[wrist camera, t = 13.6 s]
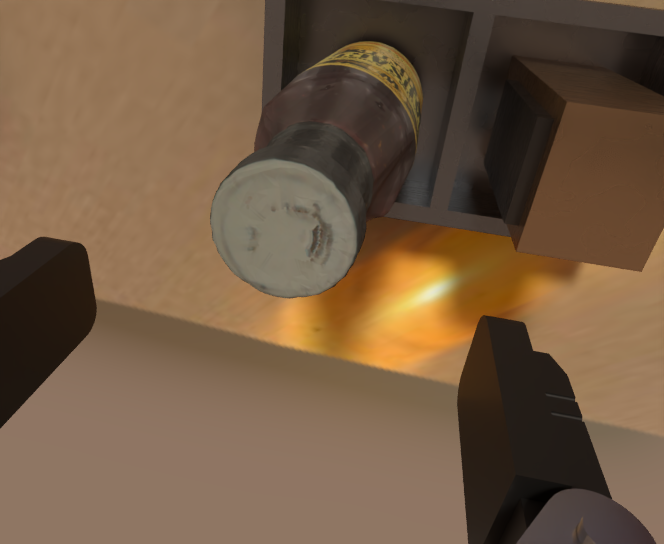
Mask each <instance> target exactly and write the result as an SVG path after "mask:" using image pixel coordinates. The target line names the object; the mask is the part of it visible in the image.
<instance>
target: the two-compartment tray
mask: <svg viewBox="0 0 664 544" xmlns="http://www.w3.org/2000/svg"><path fill="white" fill-rule="evenodd" d="M363 41H373V42H380V43H383V44H386V45H389V46H391V47H393V48H395V49H396V50H397V51H399V52H400V53H401V54H403V55H404V56H405V57H406V58H407V59H408V61H409V62H410V63H411V64H412V66H413V67H414V69H415V71H416V73H417V75H418V77H419V80H420V83H421V87H422V93H423V104H422V112H421V121H420V128H419V137H418V144H417V150H416V155H415V159H414V163H413V166H412V168H411V170H410V172H409V174H408V176H407V178H406V180H405V182H404V184H403V186H402V188H401V190H400V192H399V194H398V196H397V198H396V200H395V202H394V204H393V206H392V208H391V209H390V211H389V212H388V213H387V214H386V215H385V216H383V217H389V218H396V219H402V220H408V221H415V222H421V223H427V224H433V225H440V226H446V227H452V228H458V229H465V230H471V231H477V232H483V233H490V234H496V235H502V236H508V237H511V238H512V241H513V244H514V247H515V250H516V252H522V253H528V254H534V255H540V256H547V257H553V258H559V259H565V260H571V261H578V262H584V263H590V264H596V265H602V266H609V267H615V268H621V269H627V270H633V271H639V272H642V270H643V268H644V266H645V264H646V262H647V260H648V258H649V256H650V254H651V252H652V250H653V248H654V246H655V244H656V242H657V240H658V238H659V236H660V234H661V232H662V230H663V228H664V10H661V9H653V8H644V7H636V6H628V5H620V4H612V3H604V2H596V1H588V0H265V26H264V58H263V90H262V111H263V108H264V106H265V105H266V104H267V103H268V102H269V101H271V100H272V99H273V98H274V97H275V96H276V95H277V94H278V93H279V92H280V91H281V90H282V89H284V88H285V87H286V86H287V85H288V84H289V83H290V82H291V81H292V80H293V79H294V78H295V77H296V76H298V75H299V74H301V73H302V72H304V71H305V70H307V69H309V68H311V67H312V66H314V65H315V64H317V63H319V62H320V61H322V60H323V59H325V58H327V57H328V56H330V55H332V54H333V53H334V52H336V51H338V50H339V49H341V48H343V47H345V46H347V45H349V44H353V43H357V42H363Z"/></svg>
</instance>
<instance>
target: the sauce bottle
mask: <svg viewBox="0 0 664 544" xmlns="http://www.w3.org/2000/svg"><path fill="white" fill-rule="evenodd" d="M422 104H423V93H422V87H421V83H420V80H419V77H418V75H417V73H416V71H415V69H414V67H413V66H412V64H411V63H410V62H409V61H408V59H407V58H406V57H405V56H404V55H403V54H401V53H400V52H399V51H397V50H396V49H395V48H393V47H391V46H389V45H386V44H383V43H380V42H373V41H363V42H357V43H353V44H349V45H347V46H345V47H343V48H341V49H339V50H338V51H336V52H334V53H333V54H332V55H330V56H328V57H327V58H325V59H323V60H322V61H320V62H319V63H317V64H315V65H314V66H312V67H311V68H309V69H307V70H305V71H304V72H302V73H301V74H299V75H298V76H296V77H295V78H294V79H293V80H292V81H291V82H290V83H289V84H288V85H287V86H286V87H285V88H284V89H282V90H281V91H280V92H279V93H278V94H277V95H276V96H275V97H274V98H273V99H272V100H271V101H269V102H268V103H267V104H266V105H265V106H264V108H263V111H262V115H261V118H260V122H259V126H258V129H257V134H256V139H255V143H254V144H255V147H254V150H255V151H254V153H252V154H251V155H249V156H248V157H247V158H245V159H244V160H243V161H241V162H240V163H239V164H238V165H237V166H236V167H235V168H234V169H233V170H232V171H231V172H230V174H229V175H228V176H227V177H226V178H225V179H224V180H223V181H222V183H221V184H220V186H219V188H218V190H217V191H216V194H215V196H214V199H213V203H212V208H211V215H210V224H211V228H212V238H213V241H214V243H215V244H216V247H217V250H218V253H219V254H220V256H221V257H222V259H223V260H224V262H225V263H226V264H227V266H228V267H229V269H230V270H231V271H232V272H233V273H234V274H235V275H236V276H238V277H239V278H241V279H242V280H243V281H245V282H247V283H249V284H250V285H252V286H253V287H254V288H256V289H257V290H259V291H261V292H263V293H266V294H269V295H272V296H276V297H282V298H295V297H307V296H312V295H318V294H320V293H322V292H324V291H326V290H328V289H330V288H332V287H334V286H335V285H336V284H337V282H339V281H340V280H341V279H342V278H344V277H345V276H346V275H347V273H348V271H349V269H350V268H351V267H352V265H353V264H354V261H355V259H356V257H357V254H358V253H359V251H360V248H361V246H362V243H363V241H364V237H365V232H366V221H369V220H371V219H373V218H377V217H383V216H385V215H386V214H387V213H388V212H389V211H390V209H391V208H392V206H393V204H394V202H395V200H396V198H397V196H398V194H399V192H400V190H401V188H402V186H403V184H404V182H405V180H406V178H407V176H408V174H409V172H410V170H411V168H412V166H413V163H414V159H415V155H416V150H417V144H418V137H419V128H420V121H421V112H422Z"/></svg>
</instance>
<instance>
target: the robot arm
mask: <svg viewBox="0 0 664 544" xmlns="http://www.w3.org/2000/svg"><path fill="white" fill-rule="evenodd" d="M96 309H97V307H96V300H95V294H94V288H93V283H92V277H91V271H90V265H89V259H88V254H87V251H86V249H85V247H84V246H83V245H82V244H80V243H77V242H71V241H66V240H60V239H54V238H49V237H39V238H37V239H35V240H34V241H32V242H31V243H29V244H28V245H26V246H25V247H23V248H22V249H20V250H19V251H18V252H16V253H15V254H13V255H12V256H10V257H7V258H5V259H2V260H0V428H1V427H2V426H3V425H4V424H5V423H6V422H7V421H8V420H9V419H10V418H11V417H12V415H13V414H14V413H15V412H16V411H17V410H18V409H19V408H20V407H21V406H22V405H23V404H24V403H25V401H26V400H27V399H28V398H29V397H30V396H31V395H32V394H33V393H34V392H35V391H36V390H37V389H38V388H39V386H40V385H41V384H42V383H43V382H44V381H45V380H46V379H47V378H48V377H49V376H50V375H51V374H52V372H53V371H54V370H55V369H56V368H57V367H58V366H59V365H60V364H61V363H62V362H63V361H64V360H65V359H66V358H67V356H68V355H69V354H70V353H71V352H72V351H73V350H74V349H75V348H76V347H77V346H78V345H79V344H80V342H81V341H82V340H83V339H84V338H85V337H86V336H87V335H88V334H89V332H90V331H91V329H92V326H93V324H94V321H95V318H96ZM457 406H458V420H459V432H460V443H461V457H462V470H463V482H464V495H465V508H466V520H467V533H468V544H656V542H655V541H654V539H653V537H652V536H651V534H650V533H649V531H648V530H647V529H646V527H645V526H644V525H643V524H642V523H641V522H640V521H639V520H638V519H637V518H636V517H635V516H634V515H633V514H632V513H631V512H629V511H628V510H627V509H626V508H624V507H623V506H622V505H620V504H618V503H617V502H615V501H614V500H612V497H611V495H610V492H609V489H608V486H607V484H606V481H605V478H604V475H603V473H602V470H601V467H600V464H599V462H598V459H597V456H596V453H595V450H594V448H593V445H592V442H591V439H590V436H589V434H588V431H587V428H586V426H585V423H584V422H582V414H581V412H580V409H579V406H578V403H577V402H575V395H574V392H573V389H572V387H571V384H570V381H569V378H568V376H567V374H566V373H565V372H564V371H563V369H562V368H561V367H560V366H559V365H558V364H557V363H556V361H555V360H554V359H553V358H552V357H551V356H550V354H547V353H542V352H536V351H533V349H532V345H531V342H530V339H529V335H528V332H527V328H526V326H525V324H524V323H523V322H519V321H514V320H508V319H502V318H497V317H491V316H485V315H483V316H482V317H481V318H480V320H479V323H478V325H477V328H476V331H475V334H474V337H473V341H472V344H471V347H470V350H469V353H468V356H467V359H466V362H465V365H464V368H463V371H462V375H461V378H460V383H459V389H458V400H457Z"/></svg>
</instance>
